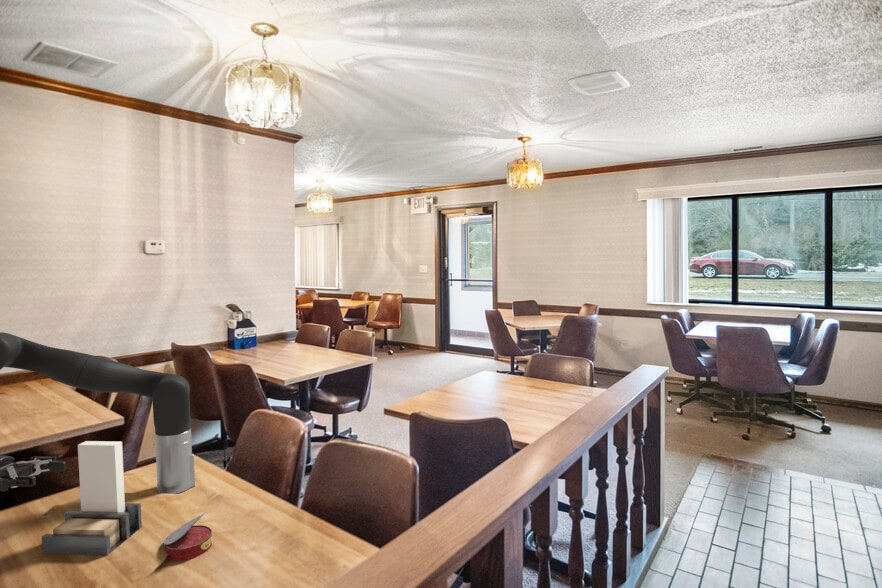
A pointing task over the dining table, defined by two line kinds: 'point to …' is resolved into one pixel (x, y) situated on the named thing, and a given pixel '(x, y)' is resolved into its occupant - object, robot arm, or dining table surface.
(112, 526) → the offcut top
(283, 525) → the dining table surface
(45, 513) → the shard
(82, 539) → the rack
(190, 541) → the canned food
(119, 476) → the white rectangular board
